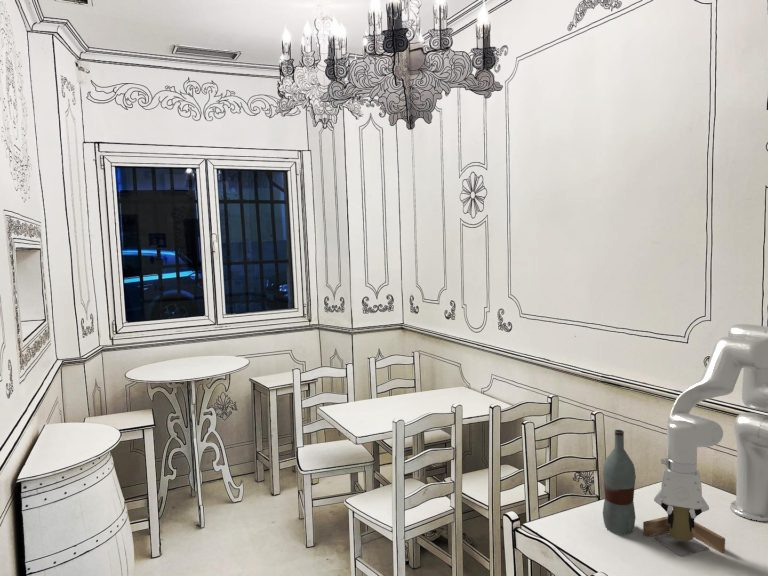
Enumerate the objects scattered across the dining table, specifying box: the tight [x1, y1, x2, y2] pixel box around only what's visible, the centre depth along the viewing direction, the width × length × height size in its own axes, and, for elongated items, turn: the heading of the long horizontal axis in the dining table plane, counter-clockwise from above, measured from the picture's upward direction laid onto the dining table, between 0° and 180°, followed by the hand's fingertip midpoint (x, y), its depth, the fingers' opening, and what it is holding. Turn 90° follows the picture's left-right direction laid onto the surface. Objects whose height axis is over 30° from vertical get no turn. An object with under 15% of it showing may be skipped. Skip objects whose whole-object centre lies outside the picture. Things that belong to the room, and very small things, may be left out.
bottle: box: [602, 429, 637, 535], centre depth 169 cm, size 9×9×30 cm
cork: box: [668, 506, 694, 541], centre depth 160 cm, size 6×6×11 cm
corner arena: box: [642, 515, 726, 557], centre depth 161 cm, size 14×15×4 cm
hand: (680, 527), depth 160 cm, fingers closed on cork, 3 cm apart
